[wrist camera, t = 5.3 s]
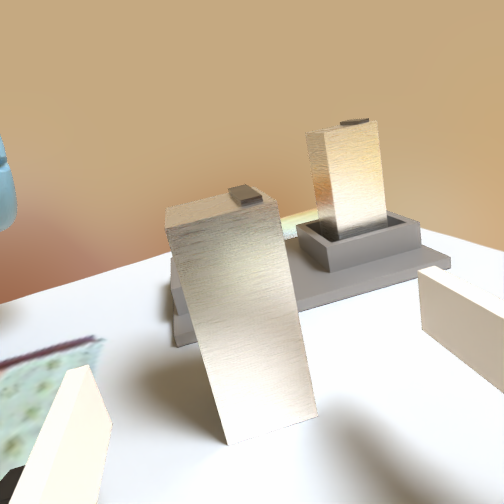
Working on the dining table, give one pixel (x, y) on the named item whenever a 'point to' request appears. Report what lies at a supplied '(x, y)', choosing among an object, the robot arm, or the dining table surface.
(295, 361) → the billet
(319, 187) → the billet
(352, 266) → the pallet
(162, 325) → the dining table surface
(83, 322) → the dining table surface
